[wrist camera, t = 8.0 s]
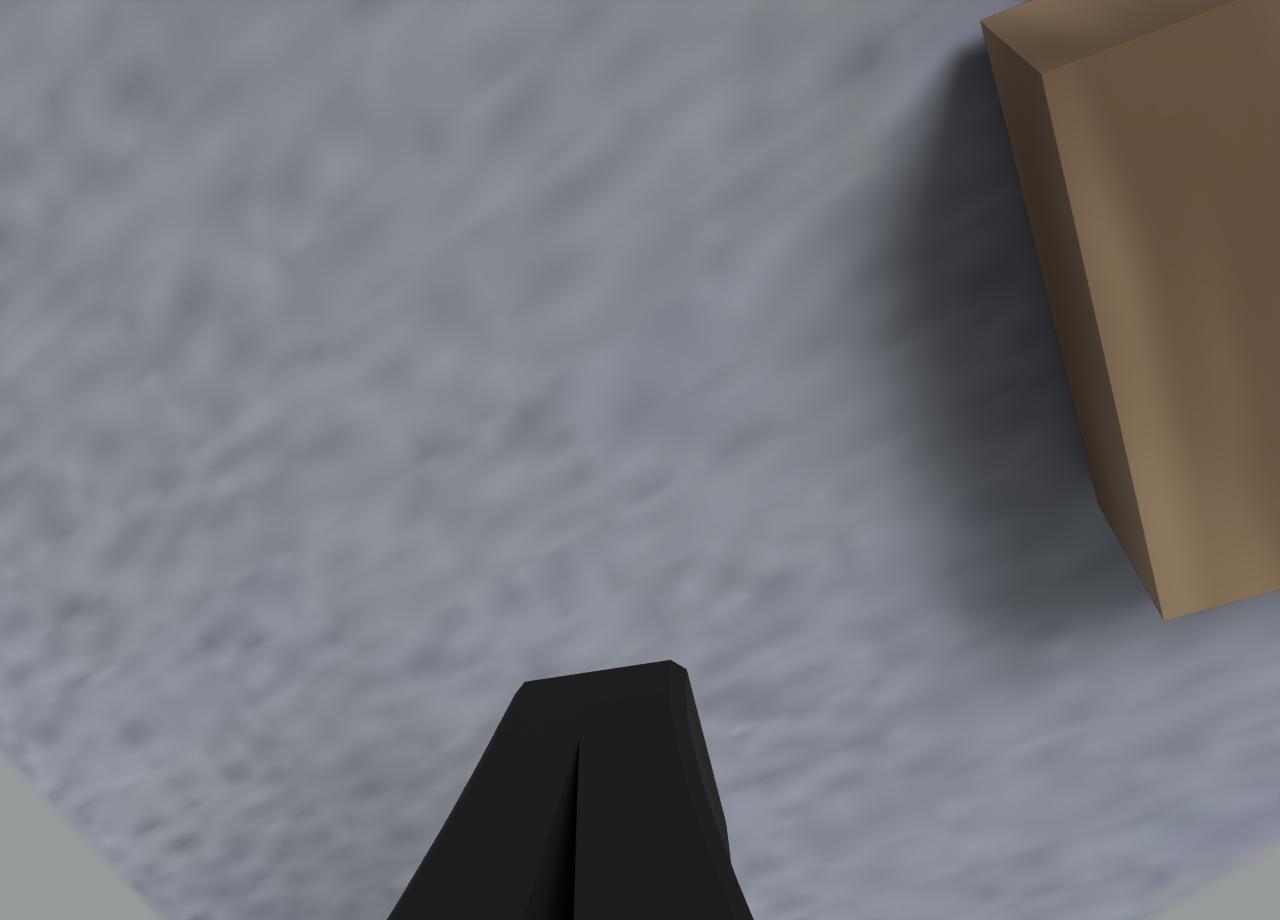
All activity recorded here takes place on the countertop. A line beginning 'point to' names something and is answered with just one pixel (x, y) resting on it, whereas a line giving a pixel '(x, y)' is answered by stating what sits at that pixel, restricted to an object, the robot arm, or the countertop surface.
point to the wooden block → (1161, 268)
